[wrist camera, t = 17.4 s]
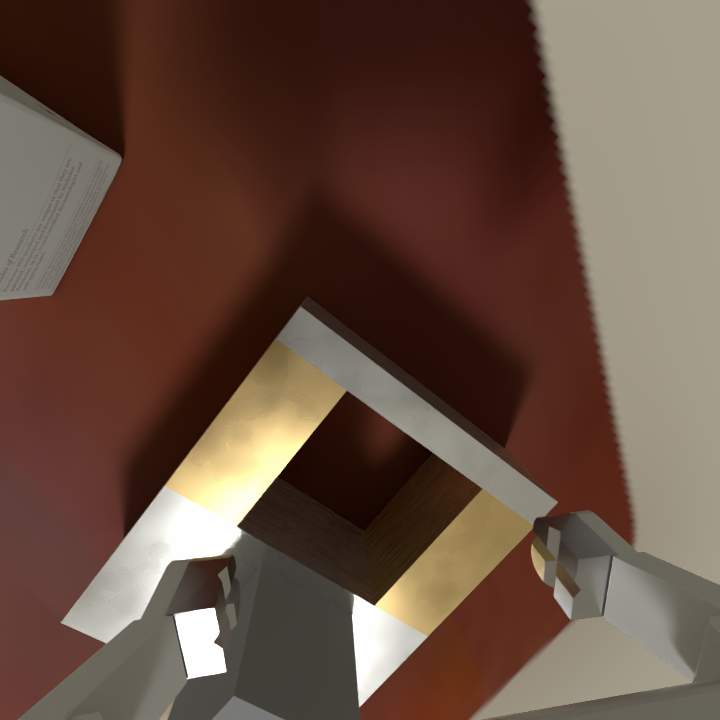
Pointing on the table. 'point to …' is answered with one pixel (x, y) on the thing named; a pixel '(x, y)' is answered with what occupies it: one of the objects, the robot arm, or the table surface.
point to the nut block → (279, 660)
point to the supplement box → (44, 192)
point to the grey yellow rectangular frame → (317, 522)
